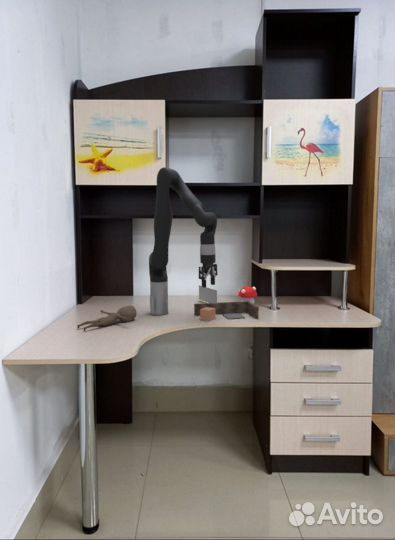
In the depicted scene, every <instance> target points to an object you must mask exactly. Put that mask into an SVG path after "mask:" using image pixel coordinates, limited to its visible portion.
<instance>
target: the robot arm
mask: <svg viewBox="0 0 395 540" xmlns="http://www.w3.org/2000/svg"><path fill="white" fill-rule="evenodd" d="M170 188H171V189H172V190H173V191H175V192H176V194H177V195H178V196H179V197H180V201H181V202H182V204H183V205H184V207H185V208H186V209H187V210H188V211H189V212H190V214H191V215H192V217H193V219H194V221H195V222H196V224H197V225H198V226H200V227H202V228H204V231H203V232H201V233H200V235H199V239H200V240H199V241H200V242H199V243H200V245H199V258H200V259H199V262H200V264H201V266H198V279H199V280H201V286H202V287H203V288H206V287H207V277H208V276H210V277H209V278H210V285H212V286H215V285H216V277H217V276H218V264H217V262H216V260H217V259H216V244H215V235H216V231H217V225H218V218H217V215H216V214H215V213H214V212H213V211H212V212H209V211H208V212H206V211H205V210H204V204H203V203H202V202H201V201H200V199H198V197H197V196H196V195H195V194H194V193H193V191H191V189H190V188H189V187H188V186H187V185H186V183H185V181H184V179H183V178H182V177H181V175H180V174H179V172H178V170H176V169H173V168H170V167H169V168H168V167H166V166H165V167H164V166H163V167H161V168H160V169H159V170H158V171H157V175H156V199H155V209H154V210H155V211H154V215H153V216H154V217H153V236H154V245H153V251H152V252H151V253H150V254H149V256H148V274H149V289H150V290H149V291H150V292H149V294H150V295H149V310H150V311H149V312H150V315H151V316H164V315H168V314H169V284H168V283H169V282H168V277H169V276H168V271H167V266H168V264H169V244H170V237H171V231H172V225H173V216H174V213H173V212H174V211H173V209H172V205H171V200H170Z"/></svg>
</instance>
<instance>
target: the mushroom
mask: <svg viewBox="0 0 395 540" xmlns="http://www.w3.org/2000/svg"><path fill="white" fill-rule="evenodd" d="M237 296H238V297H240V301H250V302H251V303H253V304H255V298H257V297H258V293H257V288H256V287H255V286H252V287H251V286H249V285H247V286H242V288H241V289H239V290H238V295H237Z"/></svg>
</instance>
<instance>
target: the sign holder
mask: <svg viewBox="0 0 395 540" xmlns="http://www.w3.org/2000/svg"><path fill="white" fill-rule="evenodd" d="M197 302H198V303H218V291H217V289H213V288H210V287H207V286H206V288H203V287H202V285H198V300H197Z"/></svg>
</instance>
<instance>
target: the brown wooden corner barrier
mask: <svg viewBox="0 0 395 540" xmlns="http://www.w3.org/2000/svg"><path fill="white" fill-rule="evenodd" d="M193 306H194V308H193V311H194V313H193V315H194V317H196V316H197V317H199V316H200V309H202V308H205V307H209V308H215V316H216V315H223V314H234V313H240V314H247V315H249V316H250V317H252V318H254V319H255V320H258V319H259V312H260V311H259V306H258V305H256V304H255V303H254V304H253V303H251V302H250V301H241V300H240V301H224V302H221V301H220V302H219V301H218V302H217V303H208V302H206V303H200V302H198V303H194V304H193Z"/></svg>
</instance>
